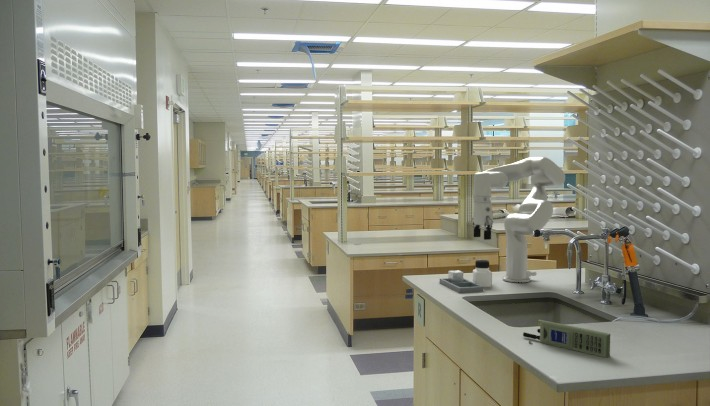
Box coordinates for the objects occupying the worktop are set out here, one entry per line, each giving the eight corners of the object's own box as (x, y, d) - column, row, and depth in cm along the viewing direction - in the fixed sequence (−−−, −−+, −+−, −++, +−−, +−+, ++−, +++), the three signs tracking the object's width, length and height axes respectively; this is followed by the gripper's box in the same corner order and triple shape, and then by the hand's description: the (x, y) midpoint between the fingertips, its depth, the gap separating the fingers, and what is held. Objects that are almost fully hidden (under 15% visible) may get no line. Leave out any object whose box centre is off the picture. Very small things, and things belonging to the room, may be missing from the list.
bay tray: (461, 282, 242) (461, 277, 242) (483, 292, 222) (483, 286, 222) (439, 284, 240) (439, 278, 240) (459, 294, 219) (459, 288, 219)
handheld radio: (606, 359, 142) (520, 339, 160) (610, 356, 145) (525, 337, 162) (607, 335, 142) (521, 317, 160) (611, 332, 144) (526, 316, 162)
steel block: (458, 283, 239) (458, 270, 238) (463, 285, 234) (463, 272, 234) (448, 283, 238) (448, 270, 237) (452, 286, 233) (453, 272, 232)
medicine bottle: (492, 288, 231) (492, 261, 230) (475, 288, 231) (476, 261, 230) (488, 284, 238) (488, 258, 237) (472, 284, 238) (472, 258, 238)
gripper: (499, 200, 225) (499, 240, 226) (481, 199, 242) (480, 235, 243) (484, 201, 223) (483, 240, 224) (466, 199, 240) (465, 236, 241)
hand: (482, 238), depth 233 cm, fingers open, 9 cm apart
